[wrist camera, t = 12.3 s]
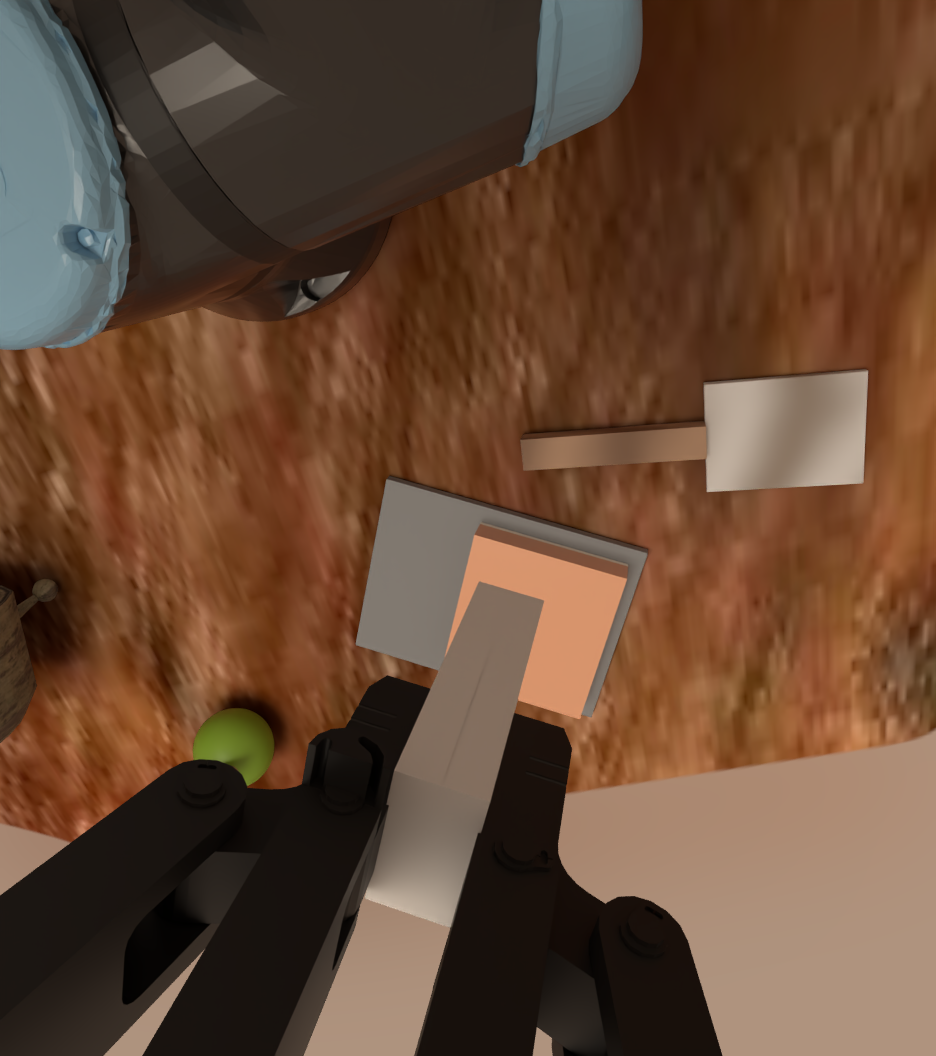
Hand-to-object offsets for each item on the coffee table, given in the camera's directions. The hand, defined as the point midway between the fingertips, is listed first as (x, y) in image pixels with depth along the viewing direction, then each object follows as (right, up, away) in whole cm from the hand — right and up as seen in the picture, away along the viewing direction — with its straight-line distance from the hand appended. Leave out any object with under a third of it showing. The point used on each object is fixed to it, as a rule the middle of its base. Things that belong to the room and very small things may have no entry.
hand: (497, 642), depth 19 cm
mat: (+1, -2, +33) cm, 33 cm away
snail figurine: (-17, -12, +41) cm, 46 cm away
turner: (+11, +8, +27) cm, 30 cm away
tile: (-1, -2, +32) cm, 32 cm away
